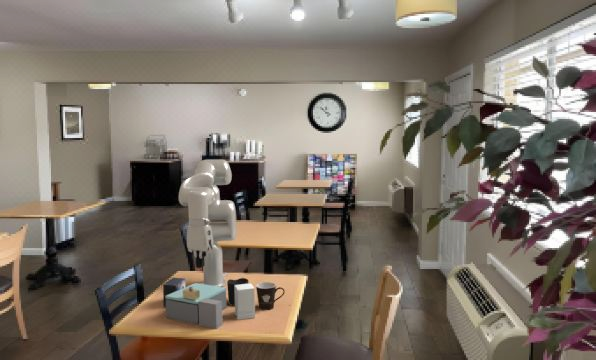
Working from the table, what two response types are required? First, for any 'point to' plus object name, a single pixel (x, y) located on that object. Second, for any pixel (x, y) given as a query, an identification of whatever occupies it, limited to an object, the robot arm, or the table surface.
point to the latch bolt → (191, 293)
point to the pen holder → (231, 288)
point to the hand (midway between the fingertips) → (200, 267)
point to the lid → (204, 290)
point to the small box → (172, 287)
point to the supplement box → (244, 301)
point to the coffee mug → (267, 295)
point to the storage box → (198, 311)
